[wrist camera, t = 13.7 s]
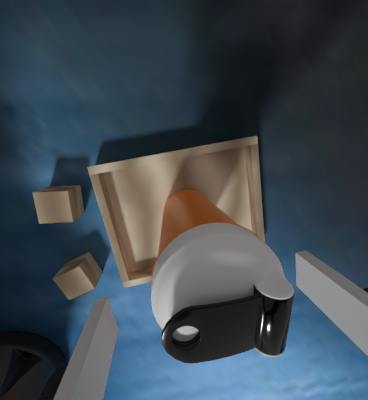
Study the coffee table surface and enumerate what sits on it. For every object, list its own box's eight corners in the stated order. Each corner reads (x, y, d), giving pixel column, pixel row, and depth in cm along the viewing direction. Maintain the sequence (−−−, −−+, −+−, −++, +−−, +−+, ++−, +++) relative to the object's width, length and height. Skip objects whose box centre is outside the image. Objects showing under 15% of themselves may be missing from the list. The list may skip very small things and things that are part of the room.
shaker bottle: (151, 188, 28) (128, 278, 9) (212, 177, 28) (319, 239, 9) (163, 244, 30) (165, 413, 11) (219, 233, 31) (314, 375, 12)
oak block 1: (55, 213, 28) (39, 223, 25) (50, 186, 27) (32, 192, 24) (84, 212, 29) (72, 221, 25) (80, 185, 28) (67, 191, 24)
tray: (127, 275, 32) (124, 287, 29) (94, 165, 27) (86, 167, 24) (256, 246, 33) (265, 256, 30) (247, 137, 28) (257, 135, 26)
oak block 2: (80, 281, 32) (69, 300, 28) (66, 262, 30) (52, 278, 27) (102, 271, 32) (94, 288, 28) (89, 251, 30) (79, 266, 27)
